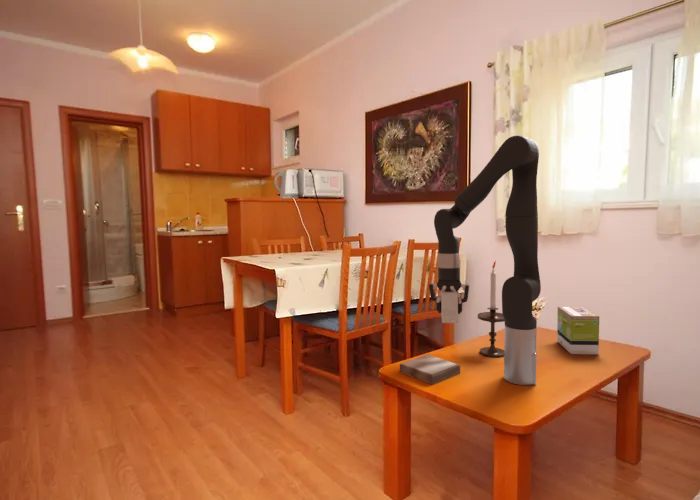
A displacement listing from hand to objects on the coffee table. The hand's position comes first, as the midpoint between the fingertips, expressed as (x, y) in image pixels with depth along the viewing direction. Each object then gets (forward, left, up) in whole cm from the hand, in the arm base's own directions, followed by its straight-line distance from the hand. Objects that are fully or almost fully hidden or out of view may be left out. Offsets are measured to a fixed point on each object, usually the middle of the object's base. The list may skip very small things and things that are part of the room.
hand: (449, 312), depth 148 cm
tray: (+5, +13, -17) cm, 22 cm away
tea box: (-44, -29, -18) cm, 56 cm away
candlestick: (-14, -13, -18) cm, 26 cm away
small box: (0, 0, -3) cm, 3 cm away
